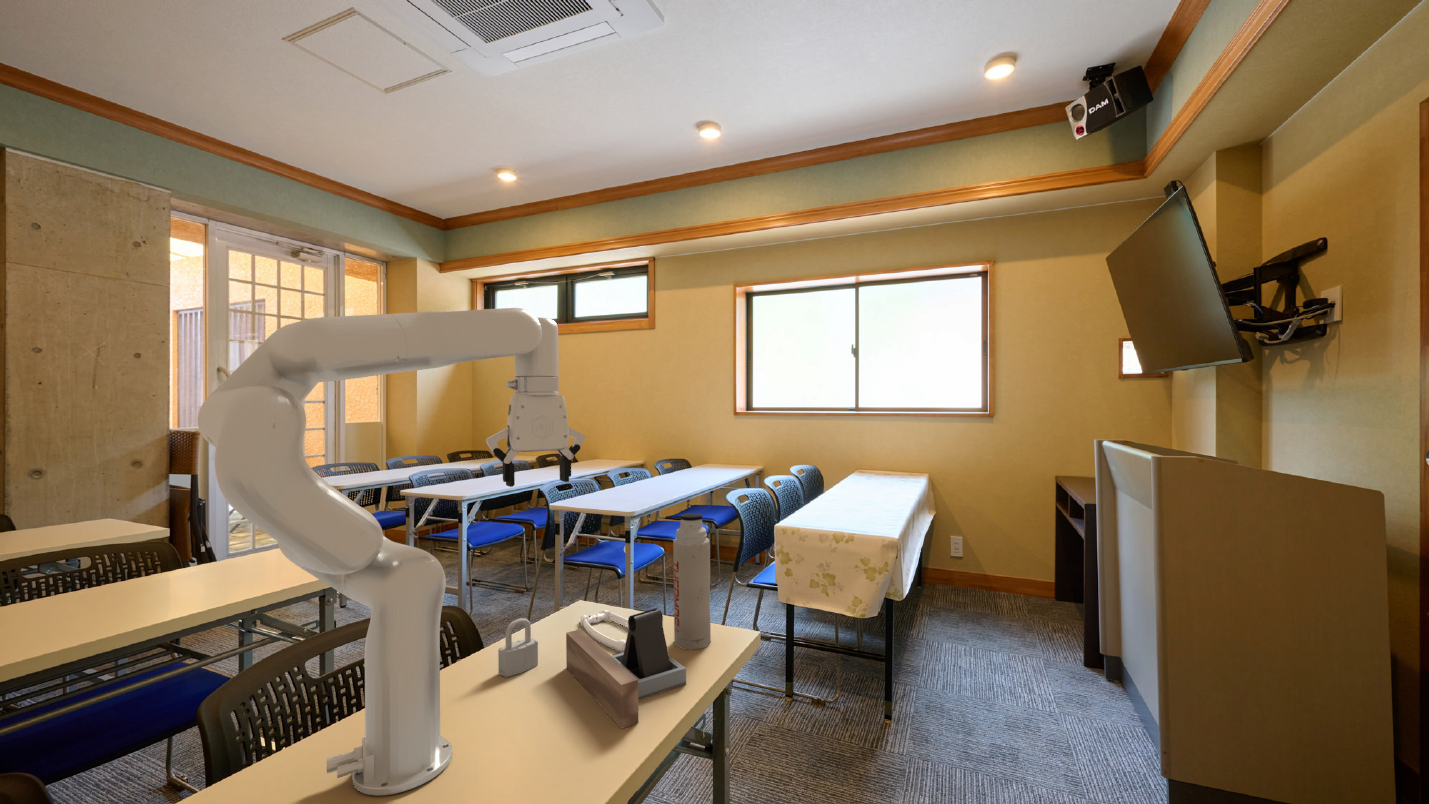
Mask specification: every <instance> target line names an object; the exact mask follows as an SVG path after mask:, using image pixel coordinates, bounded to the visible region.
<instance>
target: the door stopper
mask: <svg viewBox="0 0 1429 804" xmlns="http://www.w3.org/2000/svg"><path fill="white" fill-rule="evenodd" d="M663 617H664V616H663V613H662V611H661V609H660V608H659V609H658V608H657V607H656V608H652V609H650V610H645V611H642V612H638V613H636V614H632V615H630V616H628V618H627V619H628V628H627V629H628V631H627V635H626V640H625V641H626V645H625V650H624V654H623V659H622V664H623V665H624V666H625V667H626V668H627V669H628V670H630V671H631V672H632V673H633V674H634V675H635V676H636V677H638V678H639V679H643V678H646V677H650V676H653V675H656V674H659V673H663V672H666V671H669V670H671V665H670V660H669V656H670V655H669V651H668V646H667V642H666V636H665V631H664V623H663V621H664V618H663Z"/></svg>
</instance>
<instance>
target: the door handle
mask: <svg viewBox="0 0 1429 804" xmlns="http://www.w3.org/2000/svg"><path fill="white" fill-rule="evenodd" d="M602 621H605V622H608V621H609V622H612V621H614V622H613V623H615V622H616V624H618V625H620V624H621V625H620V626H622V625H623V626H622V627H624V626H626V627H627V628H626V627H625V628H626V629H628V618H626V617H624V616H622V615H619V614H617V613H614V612H612V611H611V610H608V609H603V610H601V611H599V612H598V613H597V614H592V615H586V614H583V615H581V616H580V624H581V627H582V628H584V629H585V631H586V632H587V634H588V635H590V636H591V637H592V638H593V640H595V641H597V642H599V643H600V644H602V645H604V646H605V647H608V648H610V649H613V650H614V649H615V651H616V652H617V651H618V653H624V650H625V645H626V640H625V639H623V638H622V639H619V640H616V639H614V638H612V637H609V636H607V635H605V634H603V633H601V632H599V631H598V629H596V628H594V627H593V626H592V625H591V624H593V625H594V624H596V623H601V622H602Z"/></svg>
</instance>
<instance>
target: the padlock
mask: <svg viewBox="0 0 1429 804" xmlns="http://www.w3.org/2000/svg"><path fill="white" fill-rule="evenodd" d="M519 625H523V626H524V639H520V640H516V641H513V638H512V633H513V629H514V628H515V627H517V626H519ZM531 626H532V625H531V622H530V620H529V619H527V618H525V617H521V618H516V619H515V620H513V621H511V622H510V623H509V624H508V625H507V627H506V630H505V645H504V646H501V647H500V648H498V651H497V653H498V657H497V658H498V662H497V663H498V665H497V666H498V674H500V675H501V676H502V677H504V678H509V677H512V676H515V675H519V674H521V673H525V672H527V671H528V670H531V669H533V668H535V667H537V666H538V665H539V641H538V640H536V639H534V638H532V630H531V629H532V627H531ZM512 641H513V642H512Z"/></svg>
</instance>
